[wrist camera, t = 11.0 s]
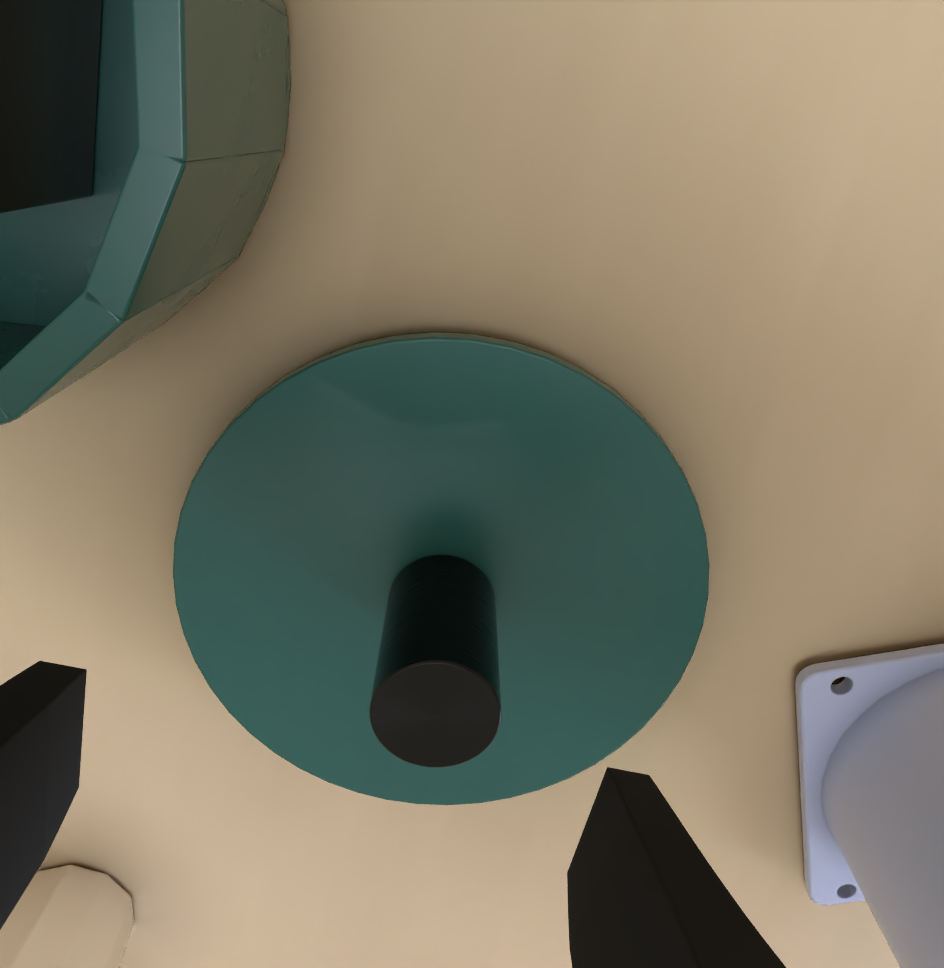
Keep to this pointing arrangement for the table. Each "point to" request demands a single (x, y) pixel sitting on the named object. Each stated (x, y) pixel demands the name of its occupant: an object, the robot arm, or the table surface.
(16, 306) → the tin
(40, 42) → the block
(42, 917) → the milkshake
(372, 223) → the table surface
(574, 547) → the lid
